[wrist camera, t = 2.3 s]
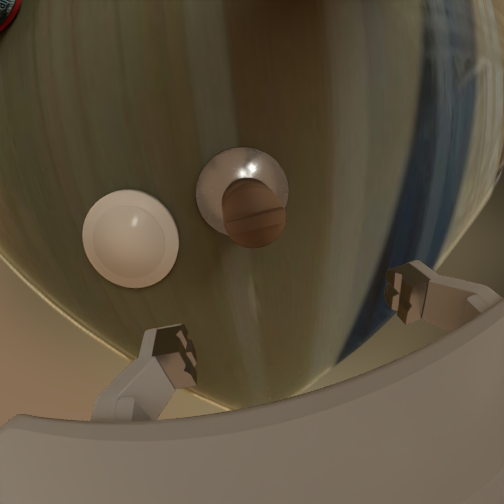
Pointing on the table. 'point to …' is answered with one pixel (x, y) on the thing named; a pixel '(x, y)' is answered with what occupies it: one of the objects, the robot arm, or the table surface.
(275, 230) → the cap
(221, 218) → the pedestal
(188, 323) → the table surface
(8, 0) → the beverage can
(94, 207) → the saucer
